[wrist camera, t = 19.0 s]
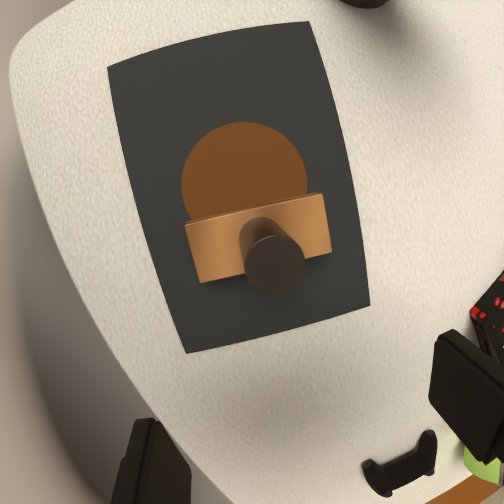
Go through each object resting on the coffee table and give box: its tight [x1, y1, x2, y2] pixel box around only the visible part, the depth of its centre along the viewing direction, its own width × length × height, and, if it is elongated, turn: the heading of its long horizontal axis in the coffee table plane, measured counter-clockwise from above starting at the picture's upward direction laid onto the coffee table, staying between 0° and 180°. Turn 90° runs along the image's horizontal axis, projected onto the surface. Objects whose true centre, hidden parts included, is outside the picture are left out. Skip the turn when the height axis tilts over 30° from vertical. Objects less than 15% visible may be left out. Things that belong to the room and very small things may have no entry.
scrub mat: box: [107, 21, 370, 354], centre depth 22 cm, size 16×24×1 cm, turn 13°
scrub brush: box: [185, 192, 332, 294], centre depth 18 cm, size 9×4×9 cm, turn 102°
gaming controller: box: [362, 430, 437, 498], centre depth 30 cm, size 11×4×7 cm
